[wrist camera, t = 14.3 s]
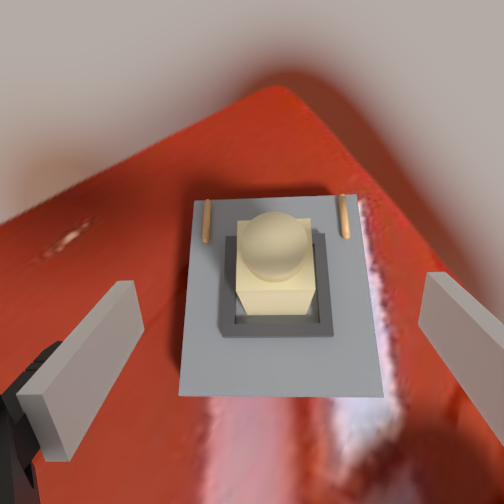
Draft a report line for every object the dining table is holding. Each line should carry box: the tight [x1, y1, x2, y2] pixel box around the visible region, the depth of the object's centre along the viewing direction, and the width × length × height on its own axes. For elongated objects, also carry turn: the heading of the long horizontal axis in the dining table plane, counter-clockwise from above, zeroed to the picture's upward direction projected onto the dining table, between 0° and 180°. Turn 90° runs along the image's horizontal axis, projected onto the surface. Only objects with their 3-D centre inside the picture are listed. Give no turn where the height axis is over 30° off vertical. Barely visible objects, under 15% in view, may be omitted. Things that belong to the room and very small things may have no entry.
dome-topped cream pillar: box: [236, 212, 316, 315], centre depth 24 cm, size 5×5×10 cm
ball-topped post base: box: [179, 194, 384, 397], centre depth 30 cm, size 16×18×5 cm
